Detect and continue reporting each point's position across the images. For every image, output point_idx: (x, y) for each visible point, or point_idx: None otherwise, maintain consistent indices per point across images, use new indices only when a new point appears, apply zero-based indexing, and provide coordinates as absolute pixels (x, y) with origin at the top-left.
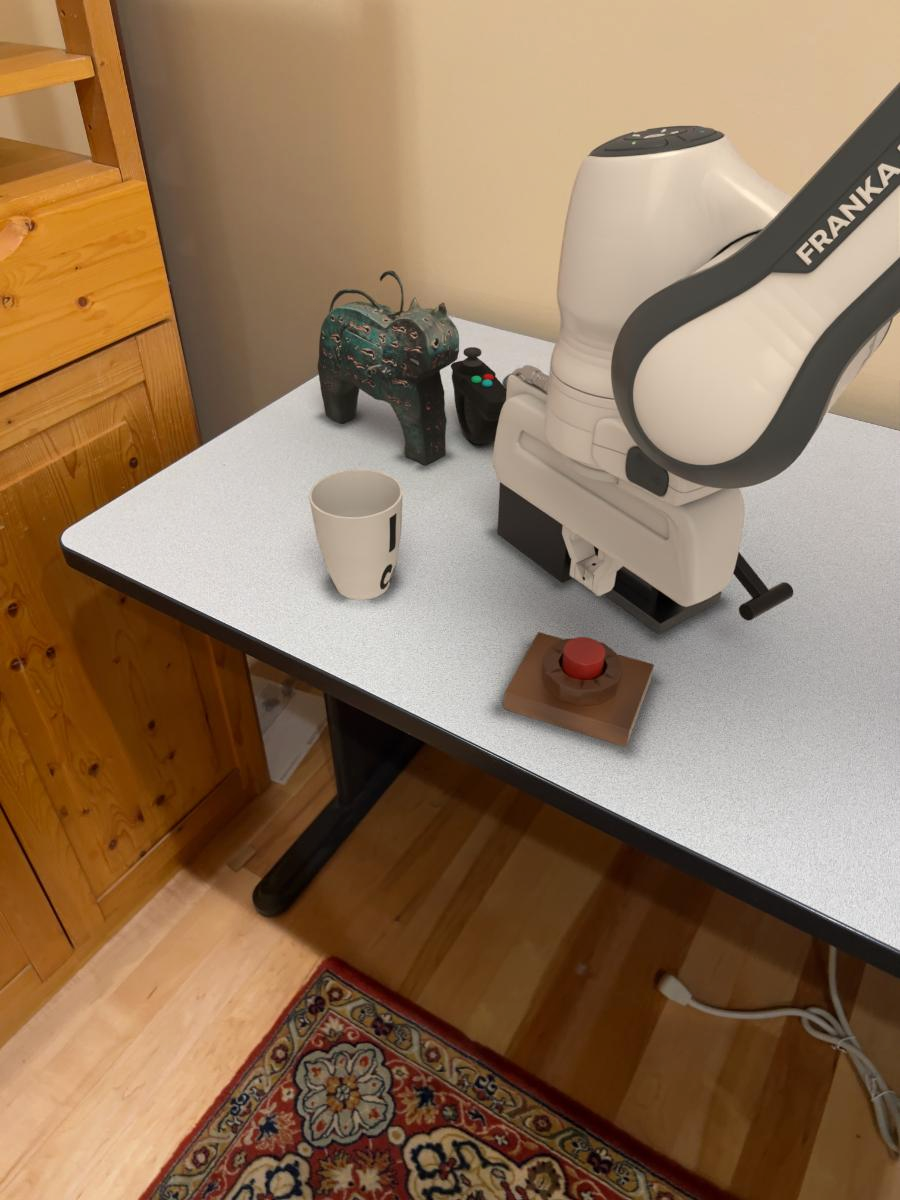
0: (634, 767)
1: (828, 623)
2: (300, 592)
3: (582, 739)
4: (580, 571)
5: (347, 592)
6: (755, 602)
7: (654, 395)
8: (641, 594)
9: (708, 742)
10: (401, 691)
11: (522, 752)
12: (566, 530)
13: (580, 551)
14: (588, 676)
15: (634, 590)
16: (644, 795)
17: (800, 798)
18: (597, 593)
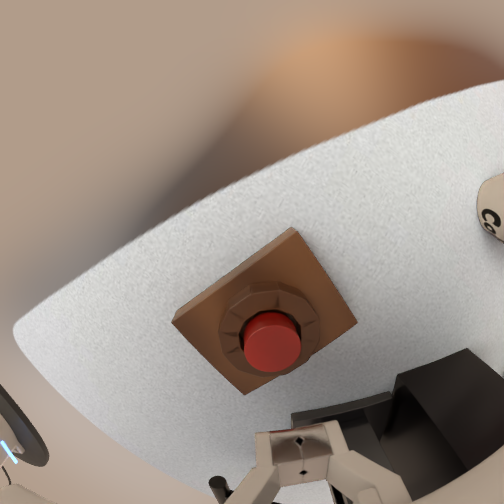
0: (152, 301)
1: (229, 483)
2: (498, 152)
3: (207, 279)
4: (313, 446)
5: (489, 180)
6: (217, 492)
7: None
8: None
9: (154, 372)
10: (371, 142)
11: (222, 209)
12: (391, 493)
13: (342, 474)
14: (245, 331)
15: (342, 422)
16: (120, 287)
17: (88, 379)
18: (255, 436)
